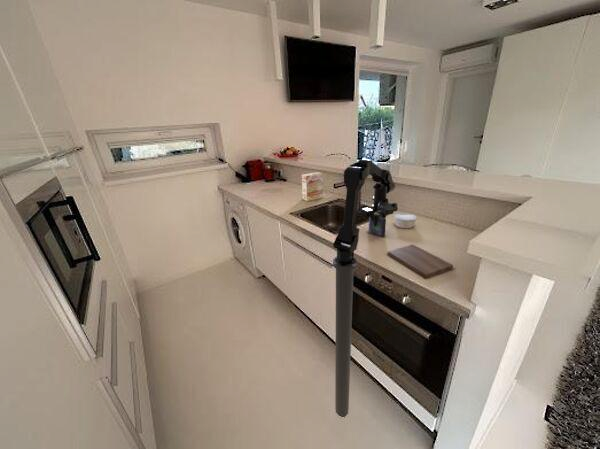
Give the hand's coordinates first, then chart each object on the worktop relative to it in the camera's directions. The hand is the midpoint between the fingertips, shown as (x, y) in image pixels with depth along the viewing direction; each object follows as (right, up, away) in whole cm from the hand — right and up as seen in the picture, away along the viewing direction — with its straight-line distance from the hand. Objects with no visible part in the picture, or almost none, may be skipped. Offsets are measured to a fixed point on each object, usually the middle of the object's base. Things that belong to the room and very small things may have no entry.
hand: (377, 225), depth 125 cm
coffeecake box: (-30, +21, +68) cm, 77 cm away
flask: (0, -4, +2) cm, 5 cm away
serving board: (+9, -14, -24) cm, 29 cm away
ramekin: (+18, 0, +11) cm, 21 cm away
